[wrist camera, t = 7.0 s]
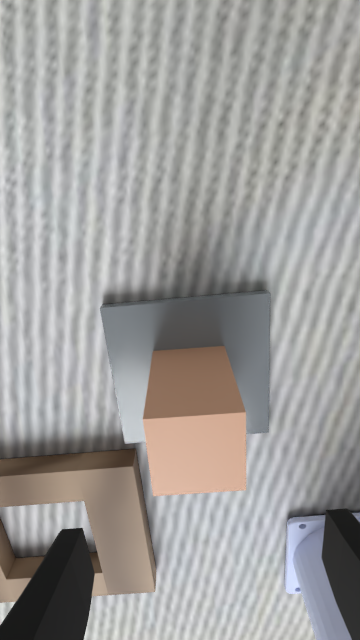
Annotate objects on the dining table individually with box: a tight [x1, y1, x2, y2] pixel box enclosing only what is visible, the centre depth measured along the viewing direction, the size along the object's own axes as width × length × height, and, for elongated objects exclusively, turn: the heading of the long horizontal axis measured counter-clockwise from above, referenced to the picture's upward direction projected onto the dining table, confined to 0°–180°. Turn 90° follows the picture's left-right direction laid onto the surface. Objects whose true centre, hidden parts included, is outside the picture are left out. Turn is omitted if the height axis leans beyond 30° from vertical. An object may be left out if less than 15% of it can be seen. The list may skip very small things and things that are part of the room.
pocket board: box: [0, 449, 156, 603], centre depth 23 cm, size 14×12×2 cm
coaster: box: [100, 290, 270, 444], centre depth 19 cm, size 9×9×1 cm
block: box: [143, 346, 246, 496], centre depth 16 cm, size 4×4×6 cm
